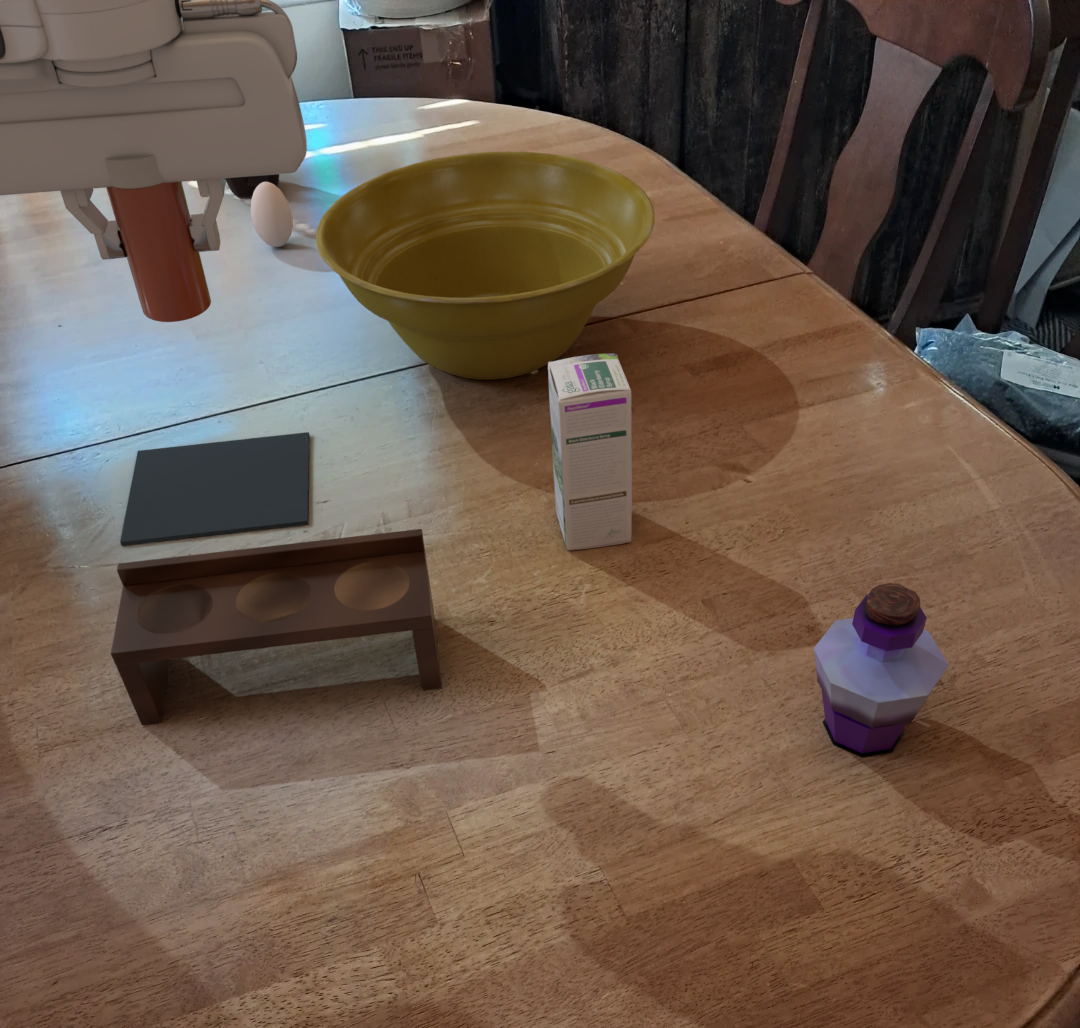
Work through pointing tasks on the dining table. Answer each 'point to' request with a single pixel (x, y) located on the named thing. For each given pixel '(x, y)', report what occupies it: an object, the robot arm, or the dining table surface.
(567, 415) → the syrup box
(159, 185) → the shaker
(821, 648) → the potion bottle
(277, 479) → the mat
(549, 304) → the planter bowl
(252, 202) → the egg
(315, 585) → the spice shelf
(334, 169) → the dining table surface
